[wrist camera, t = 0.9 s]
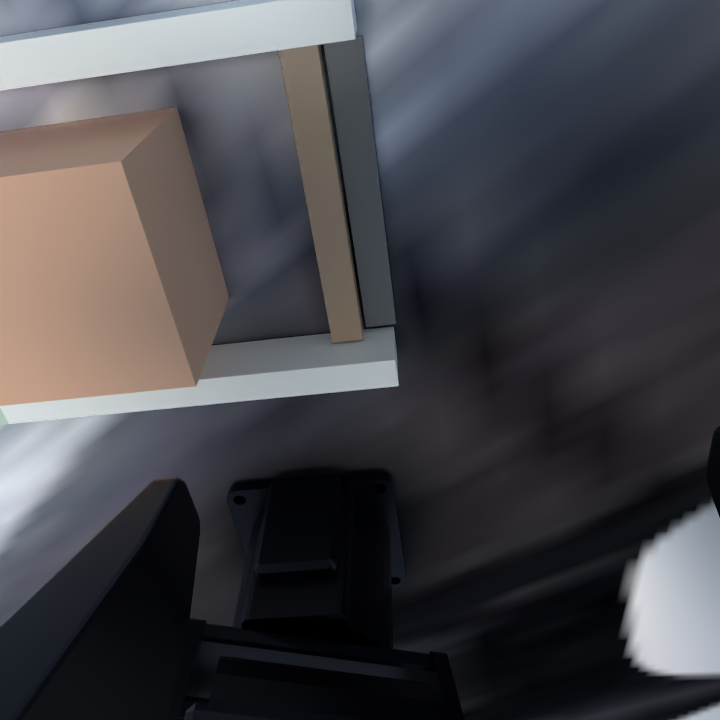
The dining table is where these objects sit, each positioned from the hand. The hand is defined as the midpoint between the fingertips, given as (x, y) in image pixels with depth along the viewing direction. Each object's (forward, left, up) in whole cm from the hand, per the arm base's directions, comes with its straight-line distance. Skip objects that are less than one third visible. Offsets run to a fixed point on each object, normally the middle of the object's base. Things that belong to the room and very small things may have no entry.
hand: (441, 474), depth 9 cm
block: (0, +9, -12) cm, 15 cm away
